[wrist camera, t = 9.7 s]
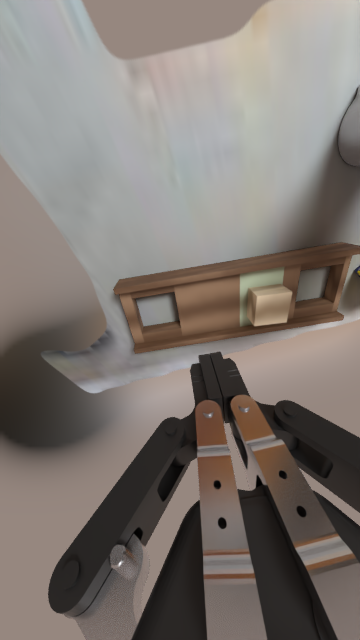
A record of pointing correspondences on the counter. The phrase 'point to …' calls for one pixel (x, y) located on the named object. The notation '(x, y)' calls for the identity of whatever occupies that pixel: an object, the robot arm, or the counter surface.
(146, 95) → the counter surface
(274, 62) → the counter surface
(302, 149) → the counter surface
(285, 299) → the maple block
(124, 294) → the walnut track
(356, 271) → the supplement box
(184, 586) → the robot arm
